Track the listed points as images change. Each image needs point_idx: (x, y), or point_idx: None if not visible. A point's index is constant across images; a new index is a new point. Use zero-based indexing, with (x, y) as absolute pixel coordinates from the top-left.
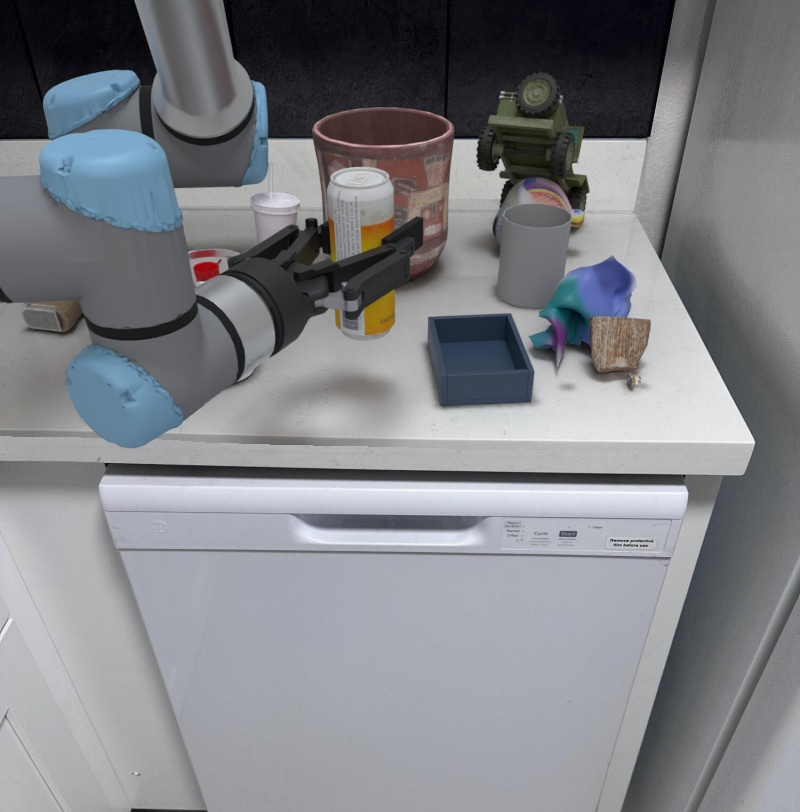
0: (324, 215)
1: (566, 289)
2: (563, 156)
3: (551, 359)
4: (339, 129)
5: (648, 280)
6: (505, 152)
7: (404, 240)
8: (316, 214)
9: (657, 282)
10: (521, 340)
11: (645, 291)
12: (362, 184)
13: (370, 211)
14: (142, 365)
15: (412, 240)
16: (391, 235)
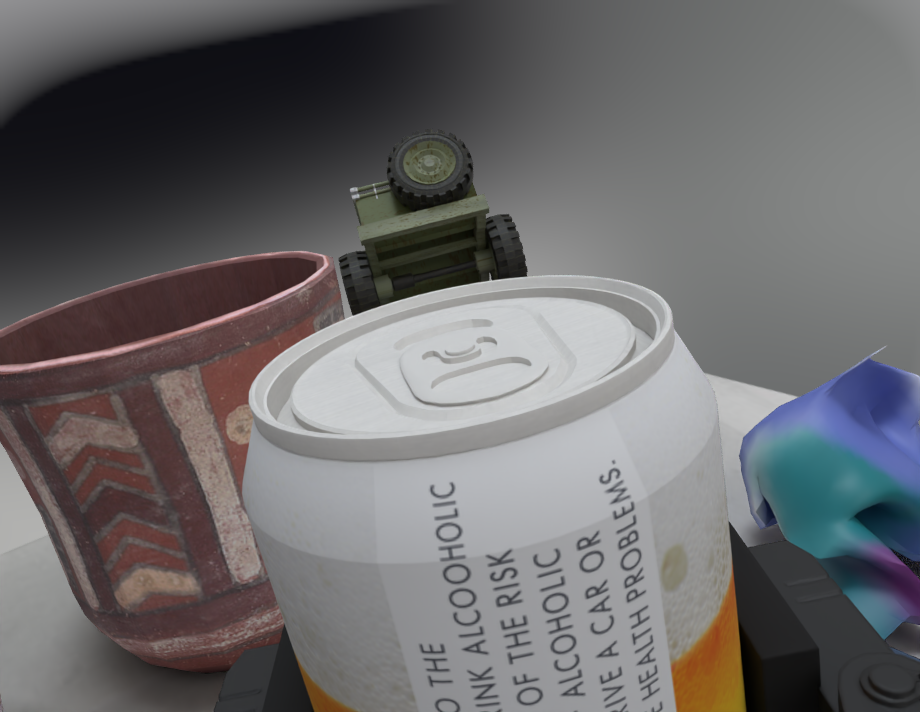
0: (68, 564)
1: (825, 464)
2: (520, 250)
3: (910, 649)
4: (33, 355)
5: (737, 393)
6: (398, 287)
7: (779, 581)
8: (21, 553)
9: (754, 390)
10: (914, 658)
11: (767, 410)
12: (555, 369)
13: (705, 528)
14: None
15: (814, 560)
16: (754, 597)
